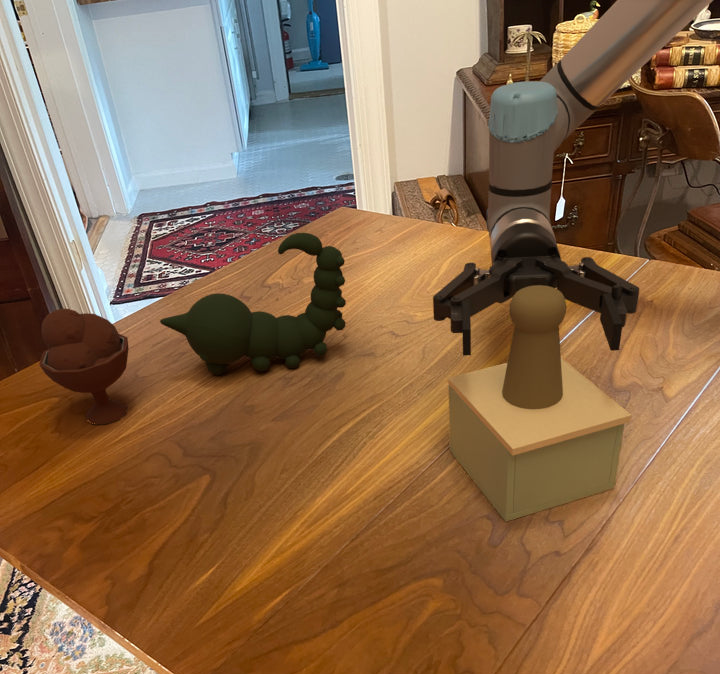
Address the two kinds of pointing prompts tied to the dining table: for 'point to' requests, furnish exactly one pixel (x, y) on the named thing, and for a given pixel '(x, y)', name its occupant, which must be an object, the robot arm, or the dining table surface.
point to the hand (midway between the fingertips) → (540, 340)
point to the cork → (535, 348)
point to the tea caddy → (532, 465)
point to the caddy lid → (538, 426)
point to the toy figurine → (267, 318)
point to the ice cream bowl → (85, 358)
